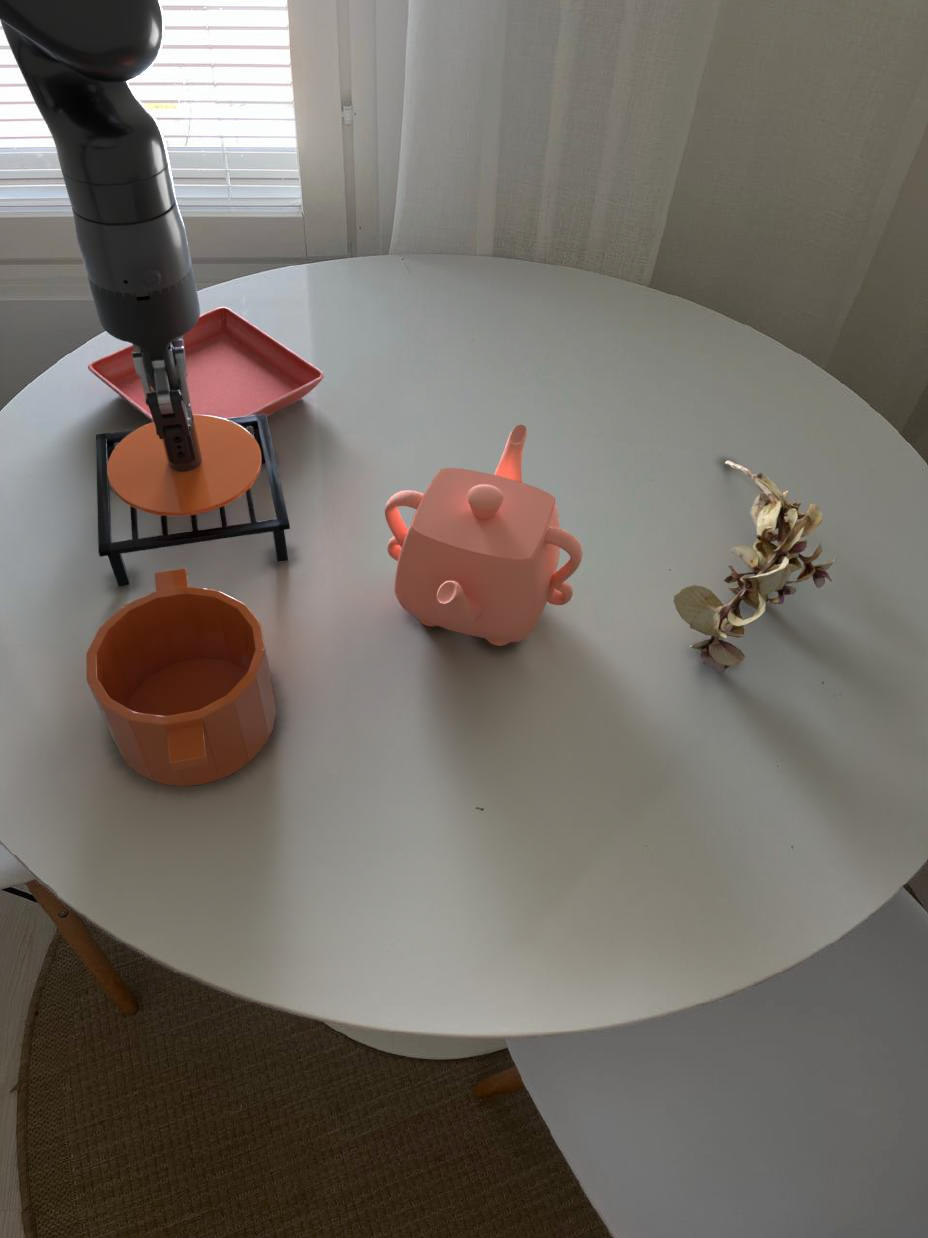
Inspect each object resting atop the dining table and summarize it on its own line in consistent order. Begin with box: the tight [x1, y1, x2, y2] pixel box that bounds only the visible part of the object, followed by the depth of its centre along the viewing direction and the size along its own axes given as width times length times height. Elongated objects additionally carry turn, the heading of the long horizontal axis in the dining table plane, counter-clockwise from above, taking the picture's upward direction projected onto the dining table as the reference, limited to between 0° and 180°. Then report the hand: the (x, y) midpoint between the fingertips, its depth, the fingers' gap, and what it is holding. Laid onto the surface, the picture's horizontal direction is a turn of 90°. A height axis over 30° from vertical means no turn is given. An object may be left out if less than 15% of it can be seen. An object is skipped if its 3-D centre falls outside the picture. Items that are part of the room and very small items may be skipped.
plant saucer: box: [87, 306, 325, 429], centre depth 97 cm, size 18×18×3 cm
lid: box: [107, 402, 263, 517], centre depth 79 cm, size 13×13×7 cm
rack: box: [95, 414, 291, 587], centre depth 84 cm, size 16×16×5 cm
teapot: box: [384, 424, 583, 647], centre depth 77 cm, size 15×17×13 cm
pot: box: [85, 567, 277, 787], centre depth 69 cm, size 12×18×8 cm
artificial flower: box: [673, 460, 837, 675], centre depth 83 cm, size 10×14×30 cm
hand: (181, 446), depth 80 cm, fingers closed on lid, 3 cm apart
